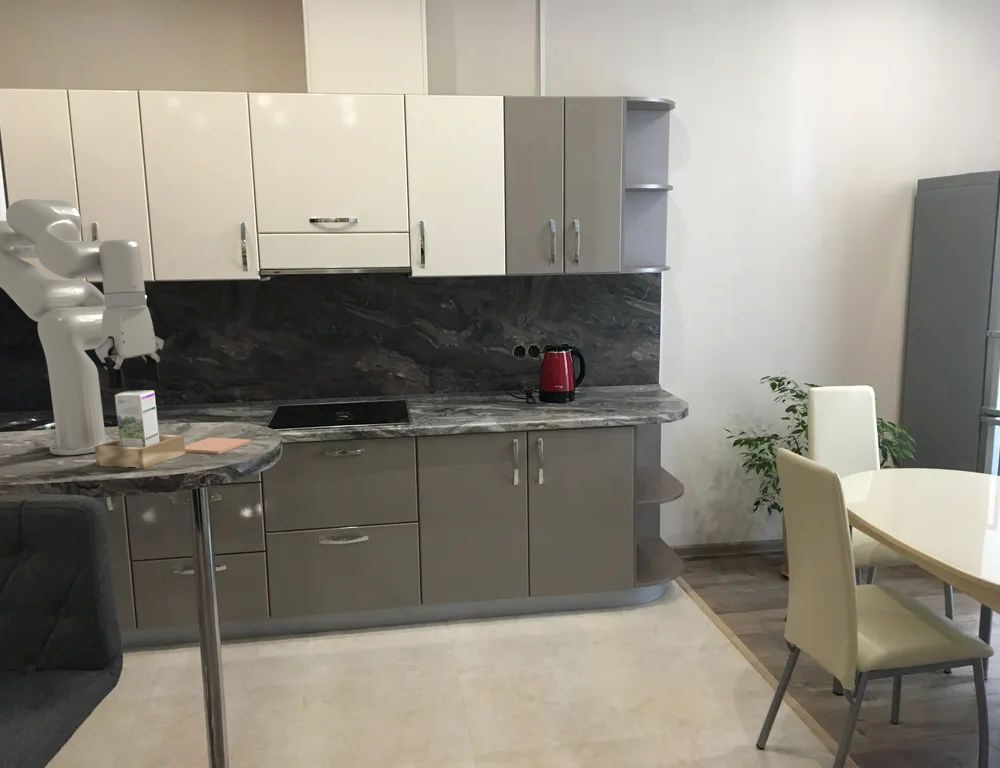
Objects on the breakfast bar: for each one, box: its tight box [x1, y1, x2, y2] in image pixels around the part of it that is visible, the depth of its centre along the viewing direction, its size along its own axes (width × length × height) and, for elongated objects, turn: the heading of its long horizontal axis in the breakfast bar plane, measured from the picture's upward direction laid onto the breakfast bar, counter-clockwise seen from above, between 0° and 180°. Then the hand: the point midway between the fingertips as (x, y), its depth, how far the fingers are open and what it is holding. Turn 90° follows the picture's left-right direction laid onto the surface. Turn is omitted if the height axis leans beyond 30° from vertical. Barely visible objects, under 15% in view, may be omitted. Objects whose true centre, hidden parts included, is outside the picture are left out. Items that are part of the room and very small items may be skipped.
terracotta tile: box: [184, 437, 251, 455], centre depth 171 cm, size 11×11×1 cm
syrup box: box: [114, 390, 160, 448], centre depth 160 cm, size 6×6×14 cm
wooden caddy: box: [94, 434, 186, 469], centre depth 161 cm, size 12×12×4 cm
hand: (135, 384), depth 158 cm, fingers open, 9 cm apart
